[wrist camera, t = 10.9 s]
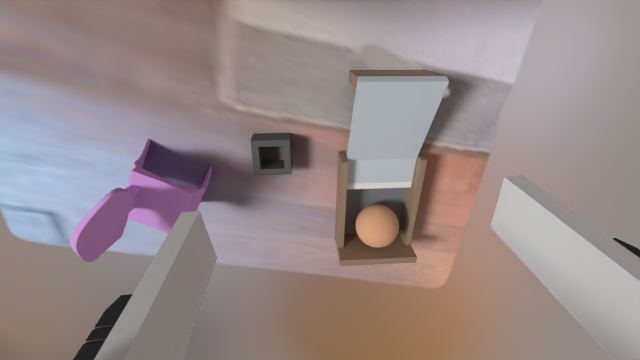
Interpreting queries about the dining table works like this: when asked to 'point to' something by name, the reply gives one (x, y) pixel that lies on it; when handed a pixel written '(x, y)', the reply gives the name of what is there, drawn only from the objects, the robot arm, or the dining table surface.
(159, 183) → the toy chair
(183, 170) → the dining table surface
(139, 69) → the dining table surface
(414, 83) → the ramp with walled tray
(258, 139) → the square sleeve
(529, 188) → the robot arm
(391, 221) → the ball
